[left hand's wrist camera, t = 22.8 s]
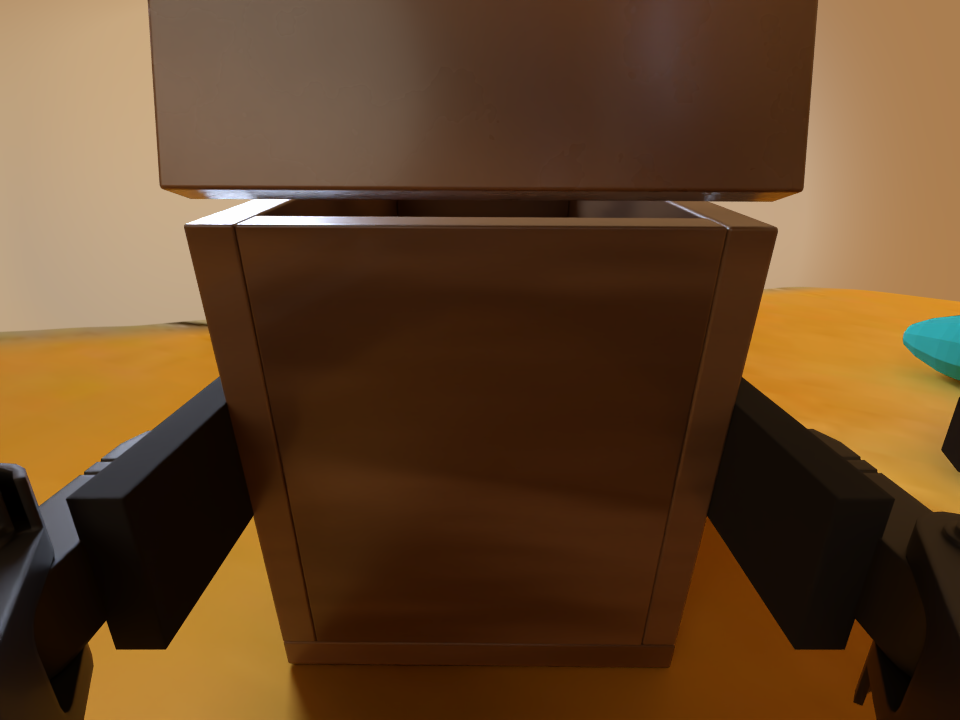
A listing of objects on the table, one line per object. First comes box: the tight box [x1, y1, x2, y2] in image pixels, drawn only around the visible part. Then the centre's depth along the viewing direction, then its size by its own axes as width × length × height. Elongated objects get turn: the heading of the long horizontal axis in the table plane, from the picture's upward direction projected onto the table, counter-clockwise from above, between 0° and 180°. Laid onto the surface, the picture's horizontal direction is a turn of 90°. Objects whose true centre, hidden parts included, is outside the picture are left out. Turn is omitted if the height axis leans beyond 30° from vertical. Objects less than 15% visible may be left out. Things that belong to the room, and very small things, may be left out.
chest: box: [184, 199, 778, 667], centre depth 18 cm, size 17×10×11 cm, turn 179°
